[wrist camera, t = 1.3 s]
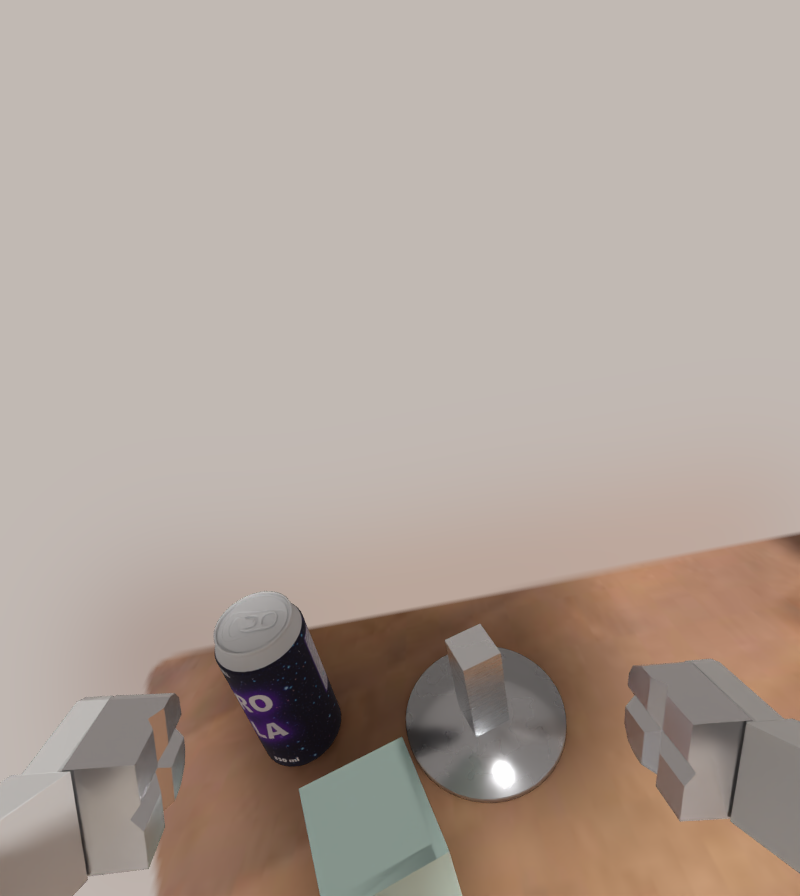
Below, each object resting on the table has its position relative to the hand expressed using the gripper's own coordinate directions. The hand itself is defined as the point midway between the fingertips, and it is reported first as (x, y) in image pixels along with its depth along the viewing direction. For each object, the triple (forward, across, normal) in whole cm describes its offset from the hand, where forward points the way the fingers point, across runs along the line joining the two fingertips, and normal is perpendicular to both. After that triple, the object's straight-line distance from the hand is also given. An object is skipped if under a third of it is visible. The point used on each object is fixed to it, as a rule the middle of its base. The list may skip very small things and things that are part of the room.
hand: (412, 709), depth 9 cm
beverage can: (+25, +5, +22) cm, 34 cm away
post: (+23, -8, +20) cm, 31 cm away
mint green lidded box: (+14, -1, +24) cm, 28 cm away
